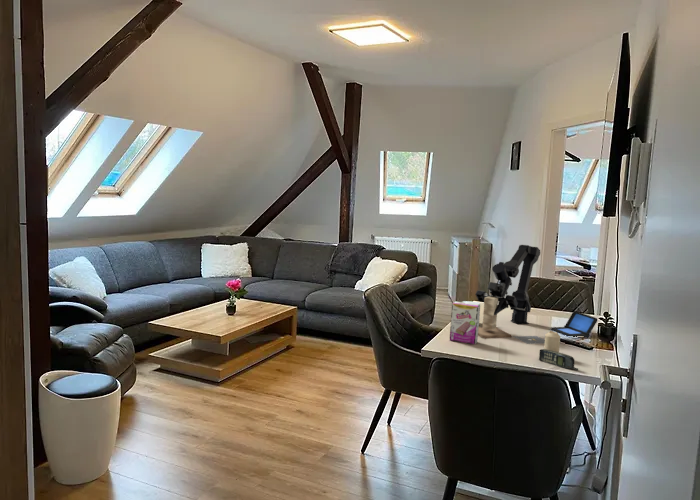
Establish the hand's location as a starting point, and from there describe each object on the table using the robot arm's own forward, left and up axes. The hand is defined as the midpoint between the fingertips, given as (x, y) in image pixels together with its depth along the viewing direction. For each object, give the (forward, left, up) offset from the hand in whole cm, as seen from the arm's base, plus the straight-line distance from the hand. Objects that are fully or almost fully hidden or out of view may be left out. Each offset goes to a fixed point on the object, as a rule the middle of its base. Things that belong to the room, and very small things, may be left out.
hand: (489, 313), depth 240 cm
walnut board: (-1, -1, -10) cm, 10 cm away
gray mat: (-16, +11, -10) cm, 21 cm away
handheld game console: (-43, +2, -10) cm, 44 cm away
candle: (-9, +34, -10) cm, 37 cm away
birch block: (-1, -1, -7) cm, 7 cm away
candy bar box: (+17, +10, -10) cm, 22 cm away
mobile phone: (-5, +44, -10) cm, 46 cm away
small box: (-1, -20, -10) cm, 22 cm away
